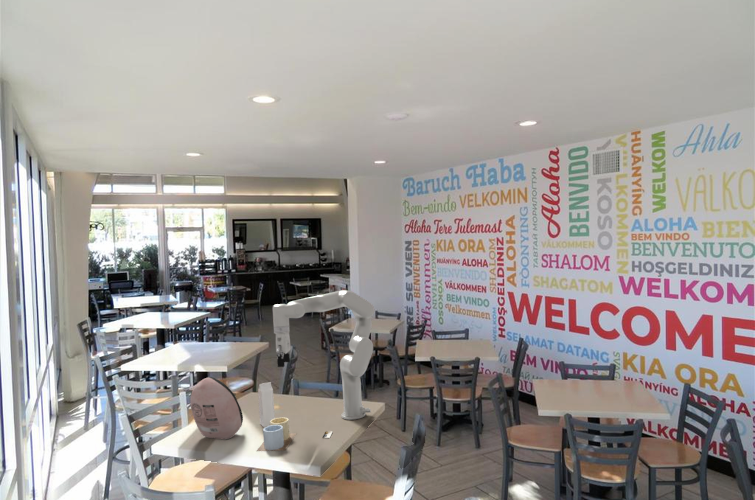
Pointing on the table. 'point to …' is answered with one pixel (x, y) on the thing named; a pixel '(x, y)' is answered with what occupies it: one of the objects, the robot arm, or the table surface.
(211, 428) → the packaged food
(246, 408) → the table surface
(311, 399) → the table surface
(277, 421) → the tube
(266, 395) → the milk
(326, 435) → the tube board
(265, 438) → the tube blue
